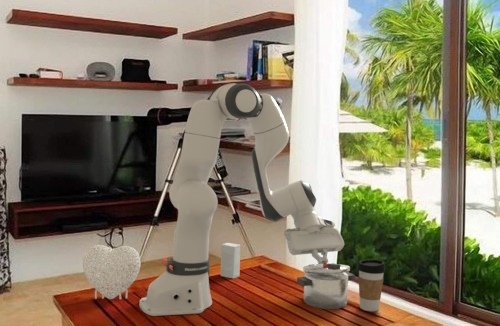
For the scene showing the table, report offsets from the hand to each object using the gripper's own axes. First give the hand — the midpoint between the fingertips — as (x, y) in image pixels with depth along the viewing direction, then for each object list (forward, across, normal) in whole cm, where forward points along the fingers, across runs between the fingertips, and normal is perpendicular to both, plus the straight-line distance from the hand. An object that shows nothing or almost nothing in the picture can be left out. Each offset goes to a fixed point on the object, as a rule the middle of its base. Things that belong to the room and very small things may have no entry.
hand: (323, 263), depth 167 cm
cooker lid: (+3, 0, 0) cm, 3 cm away
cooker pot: (+10, 0, +7) cm, 12 cm away
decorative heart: (-8, -64, +25) cm, 69 cm away
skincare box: (-15, -19, +32) cm, 40 cm away
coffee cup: (+17, +10, 0) cm, 20 cm away
